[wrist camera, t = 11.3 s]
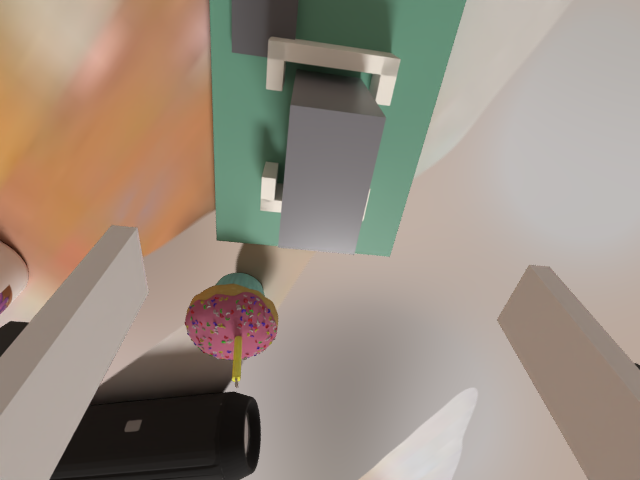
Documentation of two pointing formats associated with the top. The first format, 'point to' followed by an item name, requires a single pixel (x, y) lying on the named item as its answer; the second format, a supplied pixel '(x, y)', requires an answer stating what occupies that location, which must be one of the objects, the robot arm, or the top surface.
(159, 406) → the portable speaker
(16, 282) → the milk bottle
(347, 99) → the block
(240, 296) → the cupcake
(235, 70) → the board
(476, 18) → the top surface
